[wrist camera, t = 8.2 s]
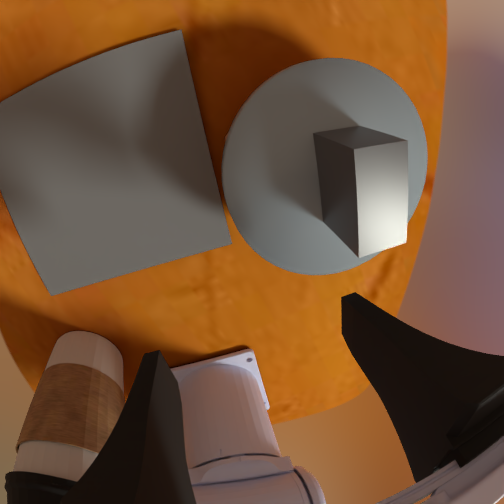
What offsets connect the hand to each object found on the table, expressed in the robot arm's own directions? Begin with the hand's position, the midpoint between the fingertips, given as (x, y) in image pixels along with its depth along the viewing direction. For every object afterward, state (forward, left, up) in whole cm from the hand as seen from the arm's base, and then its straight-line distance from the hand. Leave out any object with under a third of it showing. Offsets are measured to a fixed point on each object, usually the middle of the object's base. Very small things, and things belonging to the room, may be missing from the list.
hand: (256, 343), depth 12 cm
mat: (+6, +6, -9) cm, 13 cm away
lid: (+4, -6, -5) cm, 9 cm away
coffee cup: (-7, +13, -10) cm, 18 cm away
